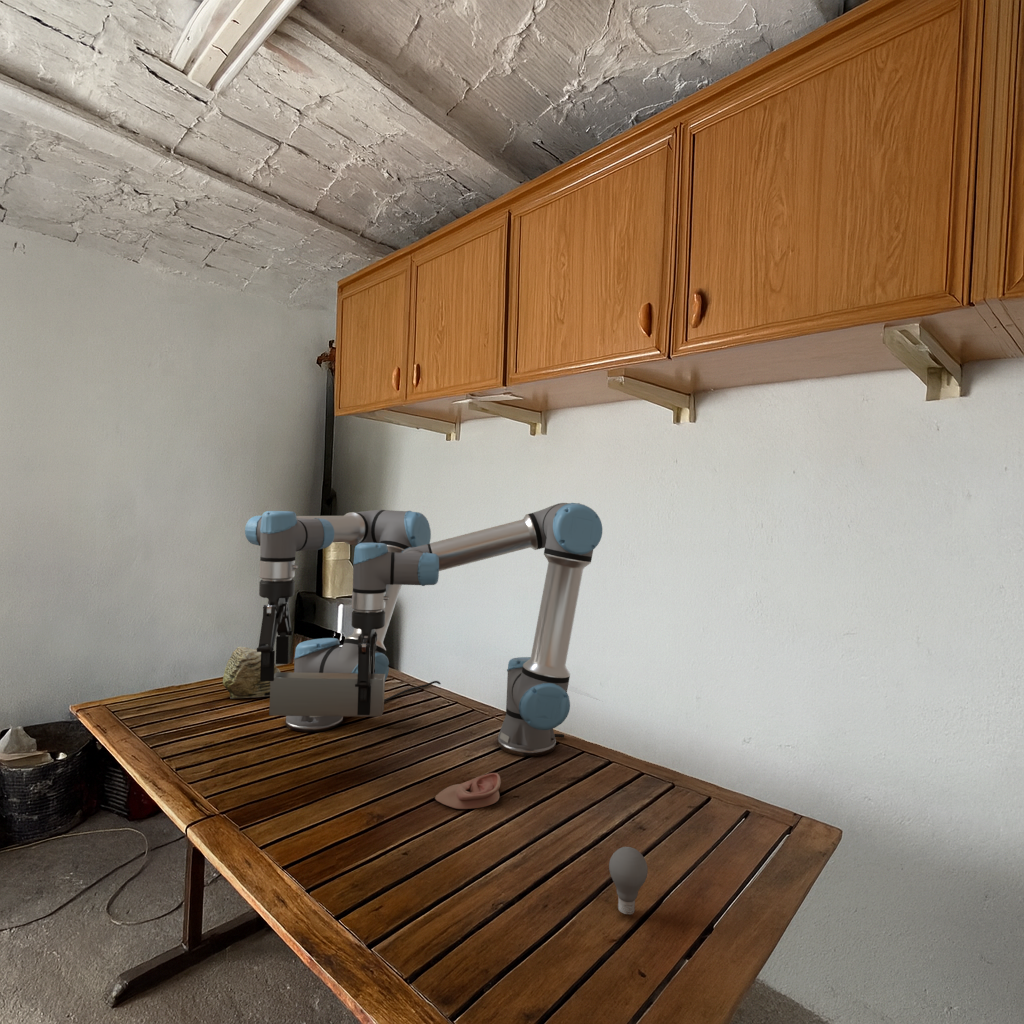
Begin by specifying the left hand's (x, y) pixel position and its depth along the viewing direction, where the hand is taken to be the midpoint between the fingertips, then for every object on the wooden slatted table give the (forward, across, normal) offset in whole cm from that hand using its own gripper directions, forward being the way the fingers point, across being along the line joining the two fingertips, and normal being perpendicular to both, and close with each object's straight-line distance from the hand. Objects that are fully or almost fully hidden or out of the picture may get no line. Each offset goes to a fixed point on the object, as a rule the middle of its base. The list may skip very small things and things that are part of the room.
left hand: (274, 671), depth 144 cm
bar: (+9, -1, -12) cm, 15 cm away
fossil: (+23, +56, +19) cm, 63 cm away
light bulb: (+23, -54, -67) cm, 89 cm away
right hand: (+9, -1, -21) cm, 22 cm away
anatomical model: (+23, -15, -44) cm, 52 cm away
